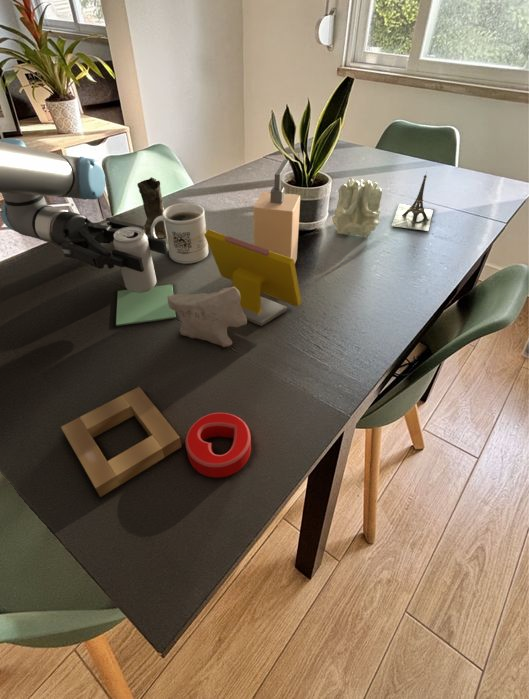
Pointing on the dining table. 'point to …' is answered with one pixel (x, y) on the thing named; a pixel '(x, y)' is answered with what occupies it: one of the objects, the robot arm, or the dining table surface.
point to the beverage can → (137, 245)
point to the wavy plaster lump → (358, 208)
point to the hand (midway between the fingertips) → (153, 256)
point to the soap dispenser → (277, 218)
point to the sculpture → (209, 314)
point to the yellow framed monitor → (256, 276)
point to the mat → (144, 306)
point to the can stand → (131, 460)
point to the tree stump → (152, 205)
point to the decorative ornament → (203, 452)
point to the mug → (184, 232)
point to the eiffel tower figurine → (413, 214)
